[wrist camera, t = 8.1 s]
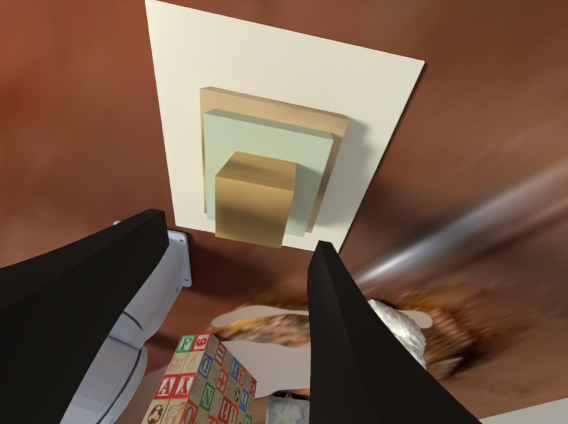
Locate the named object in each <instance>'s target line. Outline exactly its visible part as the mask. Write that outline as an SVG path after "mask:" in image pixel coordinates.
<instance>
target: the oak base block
mask: <svg viewBox="0 0 568 424" xmlns="http://www.w3.org/2000/svg"><path fill="white" fill-rule="evenodd" d="M214 108H216V109H221V110H226V111H231V112H235V113H240V114H245V115H250V116H255V117H259V118H264V119H269V120H274V121H279V122H283V123H288V124H293V125H298V126H303V127H307V128H312V129H317V130H322V131H327V132H330V133H331V135H332V138H333V144H332V147H331V150H330V153H329V157H328V160H327V163H326V166H325V170H324V173H323V176H322V179H321V183H320V186H319V189H318V192H317V195H316V199H315V202H314V205H313V208H312V212H311V215H310V218H309V221H308V225H307V228H306V231H305V232H308V233H312V230H313V227H314V224H315V221H316V218H317V215H318V212H319V209H320V206H321V203H322V200H323V197H324V194H325V191H326V188H327V185H328V182H329V179H330V176H331V173H332V170H333V167H334V164H335V161H336V158H337V155H338V152H339V149H340V146H341V143H342V140H343V137H344V134H345V131H346V128H347V125H348V122H349V119H348V118H347V117H346V116H345V115H343V114H338V113H334V112H329V111H324V110H320V109H315V108H310V107H305V106H301V105H296V104H291V103H287V102H282V101H277V100H272V99H268V98H263V97H258V96H254V95H249V94H244V93H240V92H235V91H230V90H225V89H221V88H216V87H211V86H210V87H204V88H200V113H201V138H202V163H203V189H204V213H207V207H206V176H205V146H204V115H203V113H205V112H207V111H210V110H212V109H214Z"/></svg>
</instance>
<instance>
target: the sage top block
mask: <svg viewBox="0 0 568 424" xmlns="http://www.w3.org/2000/svg"><path fill="white" fill-rule="evenodd" d="M203 115H204V146H205V176H206V207H207V219H209V220H214V221H215V176H216V174H217V173H218V172H219V171H220V169H221V168H222V167H223V166H224V165H225V163H226V162H227V161H228V160H229V159H230V157H231V156H232V155H233V154H234V153H235V151H240V152H245V153H250V154H255V155H260V156H265V157H270V158H275V159H280V160H285V161H290V162H295V163H296V173H295V188H294V195H293V199H292V203H291V208H290V212H289V216H288V220H287V224H286V229H285V233H284V234H289V235H294V236H300V237H304V234H305V231H306V228H307V225H308V221H309V218H310V215H311V212H312V208H313V205H314V202H315V199H316V195H317V192H318V189H319V186H320V183H321V179H322V176H323V173H324V170H325V166H326V163H327V160H328V157H329V153H330V150H331V147H332V144H333V138H332V135H331V133H330V132H327V131H322V130H317V129H312V128H307V127H303V126H298V125H293V124H288V123H283V122H279V121H274V120H269V119H264V118H259V117H255V116H250V115H245V114H240V113H235V112H231V111H226V110H221V109H216V108H214V109H212V110H210V111H207V112H205V113H203Z"/></svg>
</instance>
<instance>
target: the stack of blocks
mask: <svg viewBox="0 0 568 424" xmlns="http://www.w3.org/2000/svg"><path fill="white" fill-rule="evenodd" d="M256 382H257V381H256V380H255V379H254V378H253V377H252V376H251V374H250V373H249V372H248V371H247V370H246V369H245V368H244V367H243V366H242V365H241V364H240V363H239V362H238V361H237V360H236V359H235V357H234V356H233V355H232V354H231V353H230V352H229V351H228V350H227V349H226V347H225V346H224V345H223V344H222V343H221V342H220V341H219V340H218V339H217V338H216V337H215V336H214V335H213V334H212V333H203V334H195V335H185V336H182V338H181V340H180V342H179V344H178V346H177V348H176V350H175V353H174V356H173V358H172V360H171V362H170V364H169V366H168V368H167V370H166V373H165V375H164V376H163V379H162V380H161V382H160V385H159V387H158V389H157V392H156V393H155V395H154V398H153V401H152V403H151V405H150V407H149V409H148V411H147V413H146V415H145V417H144V420H143V422H142V424H251V422H252V412H253V405H254V396H255V390H256Z"/></svg>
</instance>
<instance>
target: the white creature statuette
mask: <svg viewBox="0 0 568 424" xmlns="http://www.w3.org/2000/svg"><path fill="white" fill-rule="evenodd" d="M368 303H369V304H370V305H371V307H372V308H373V309H374V311H375V312H376V313H377V315H378V316H379V317H380V318H381V320H382V321H383V322H384V323H385V325H386V326H387V327H388V328H389V330H390V331H391V332H392V333H393V334H394V335H395V337H396V338H397V339H398V340H399V341H400V342H401V343H402V345H403V346H404V347H405V348H406V349H407V350H408V351H409V352H410V353H411V355H412V356H413V357H414V358H415V359H416V360H417V361H418V362H419V363H420V364H421V365H422V366H423V367H424V368H425V369H426V367H425V364H426V362H425V360H424V358H423V353H424V352H423V351H424V346H425V345H426V343H425V340H426V339H425V337H424V335H423V333H422V332H421V331H420V327H419V326H417V324H416V323H415V321H414V320H412V319H410V318H409V317H408V316H407V315H404V313H402V312H399V311H398V310H395V309H393V308H392V307H390V306H387V305H385V304H383V303H382V302H380V301H378V300H376V299H375V300H373V299H371V300H370V301H368Z"/></svg>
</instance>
